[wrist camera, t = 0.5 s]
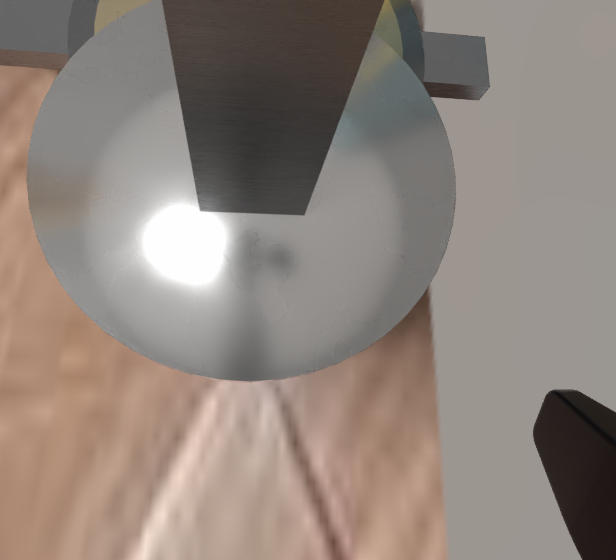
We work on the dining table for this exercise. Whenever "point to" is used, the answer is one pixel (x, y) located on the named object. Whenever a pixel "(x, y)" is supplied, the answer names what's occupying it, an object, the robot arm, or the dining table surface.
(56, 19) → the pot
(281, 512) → the dining table surface
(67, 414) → the dining table surface
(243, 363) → the disc with square post
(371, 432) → the dining table surface
